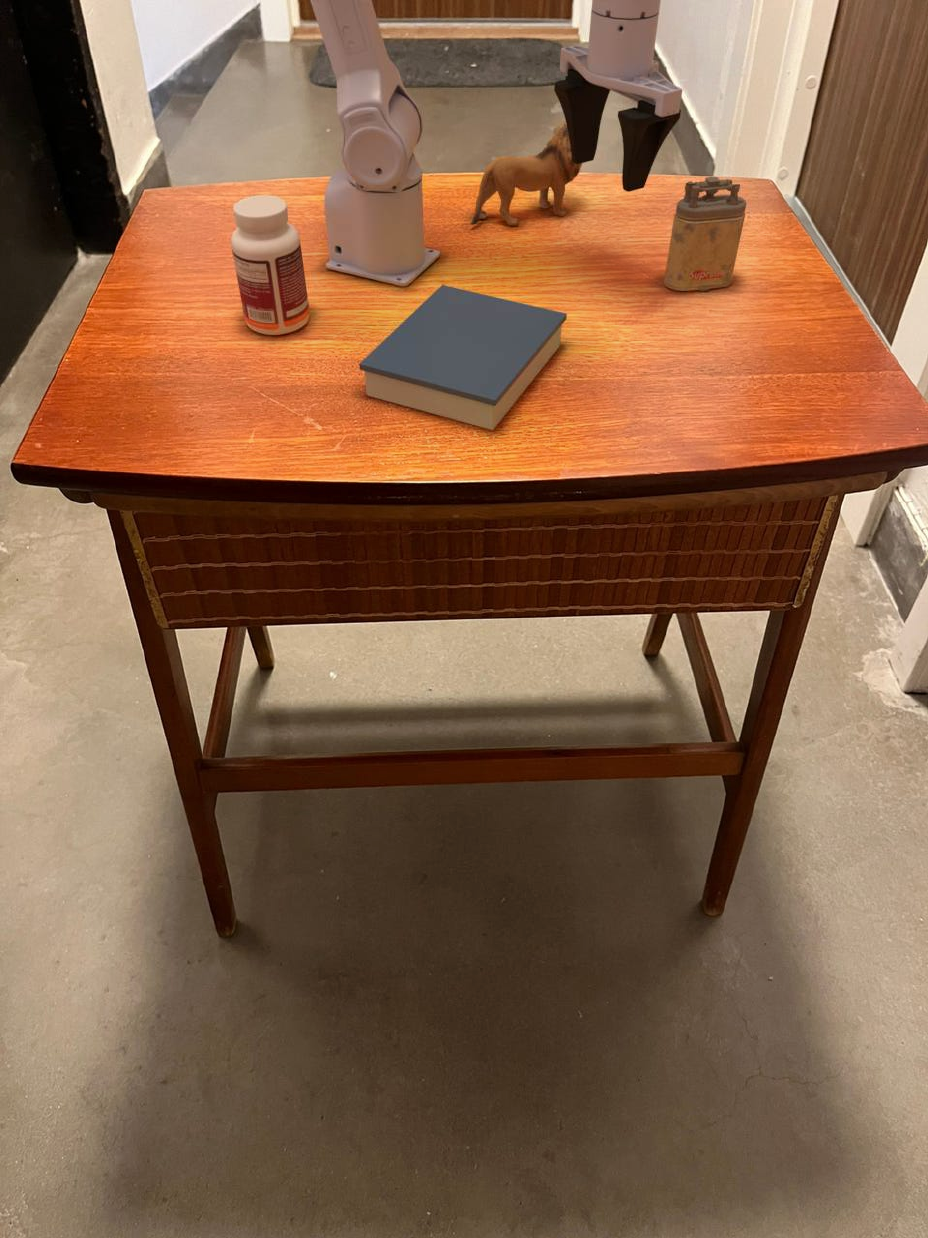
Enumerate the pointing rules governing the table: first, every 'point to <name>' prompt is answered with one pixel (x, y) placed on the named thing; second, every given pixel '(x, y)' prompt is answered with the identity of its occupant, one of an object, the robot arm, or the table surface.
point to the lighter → (705, 236)
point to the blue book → (463, 356)
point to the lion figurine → (530, 176)
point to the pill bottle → (269, 266)
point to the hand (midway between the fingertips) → (607, 174)
